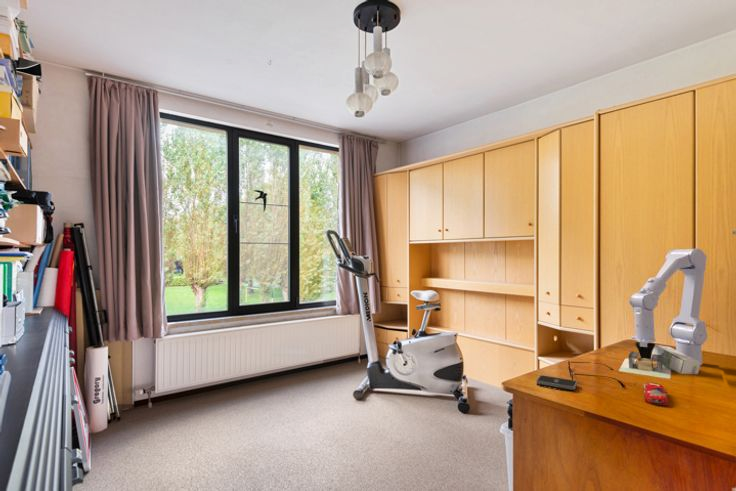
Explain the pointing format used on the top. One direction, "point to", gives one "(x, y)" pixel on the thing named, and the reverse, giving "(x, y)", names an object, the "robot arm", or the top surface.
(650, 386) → the race car
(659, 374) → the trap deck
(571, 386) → the external hard drive
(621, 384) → the eyeglasses
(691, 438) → the top surface
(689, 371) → the syrup box
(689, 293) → the robot arm
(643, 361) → the wooden block
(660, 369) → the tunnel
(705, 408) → the top surface
